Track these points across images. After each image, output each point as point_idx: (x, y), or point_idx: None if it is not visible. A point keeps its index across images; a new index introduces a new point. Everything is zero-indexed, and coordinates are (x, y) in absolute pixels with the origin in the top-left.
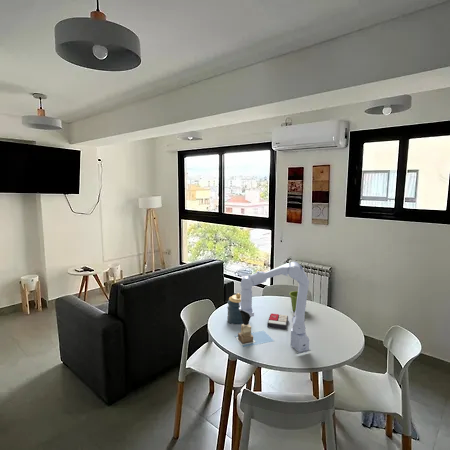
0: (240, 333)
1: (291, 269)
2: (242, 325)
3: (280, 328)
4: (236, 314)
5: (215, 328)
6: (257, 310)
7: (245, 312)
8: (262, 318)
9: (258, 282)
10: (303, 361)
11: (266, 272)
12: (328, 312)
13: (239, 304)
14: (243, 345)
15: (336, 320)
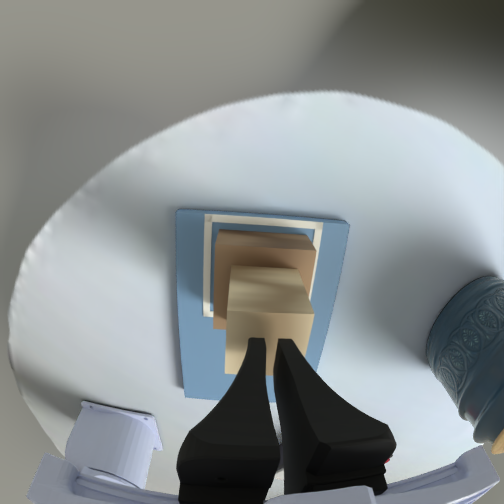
0: (299, 264)
1: None
2: (289, 317)
3: (280, 452)
4: (486, 341)
5: (485, 172)
6: (458, 416)
7: (240, 487)
8: (407, 421)
9: None
10: (41, 383)
11: None
12: None
13: (478, 473)
14: (194, 223)
15: None
